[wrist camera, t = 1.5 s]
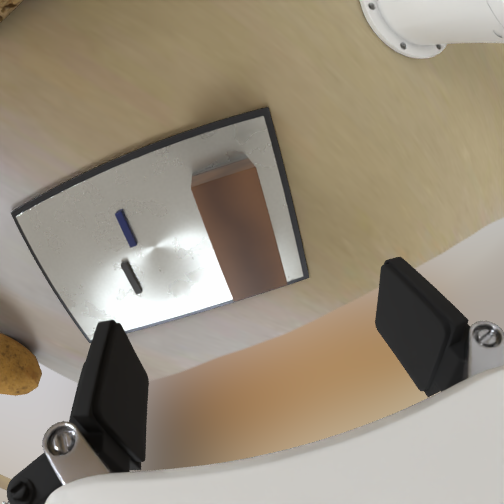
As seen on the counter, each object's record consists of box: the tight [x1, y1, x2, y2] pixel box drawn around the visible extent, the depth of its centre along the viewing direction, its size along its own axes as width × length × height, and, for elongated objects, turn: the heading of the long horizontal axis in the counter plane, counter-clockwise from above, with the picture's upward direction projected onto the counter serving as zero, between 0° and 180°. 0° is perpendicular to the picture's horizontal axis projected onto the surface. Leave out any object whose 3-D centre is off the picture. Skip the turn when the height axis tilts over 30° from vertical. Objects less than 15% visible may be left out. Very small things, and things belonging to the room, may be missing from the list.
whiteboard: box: [11, 107, 309, 343], centre depth 32 cm, size 30×20×1 cm, turn 106°
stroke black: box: [121, 262, 143, 294], centre depth 33 cm, size 1×4×1 cm, turn 15°
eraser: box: [191, 156, 288, 302], centre depth 30 cm, size 6×12×5 cm, turn 16°
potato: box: [0, 333, 42, 395], centre depth 32 cm, size 10×13×9 cm
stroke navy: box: [115, 210, 137, 248], centre depth 30 cm, size 1×4×1 cm, turn 15°
